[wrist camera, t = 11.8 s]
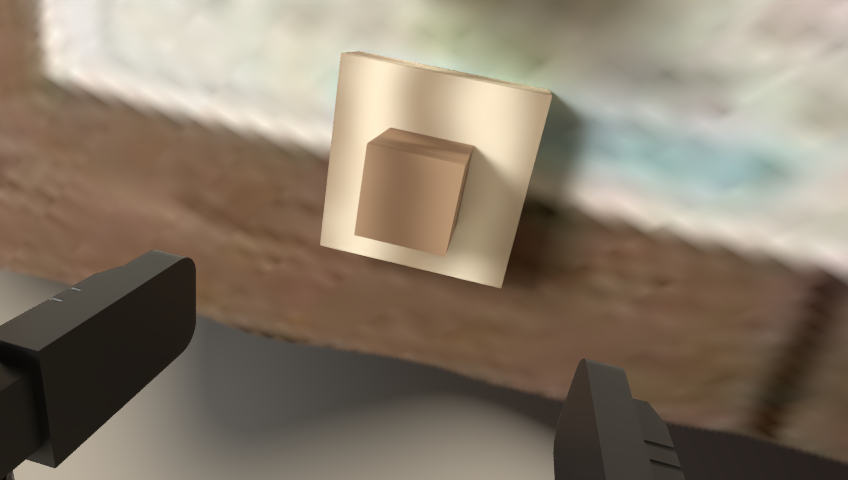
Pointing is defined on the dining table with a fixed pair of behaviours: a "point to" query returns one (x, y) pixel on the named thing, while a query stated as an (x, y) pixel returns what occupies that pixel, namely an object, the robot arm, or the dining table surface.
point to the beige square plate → (447, 119)
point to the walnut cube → (412, 190)
